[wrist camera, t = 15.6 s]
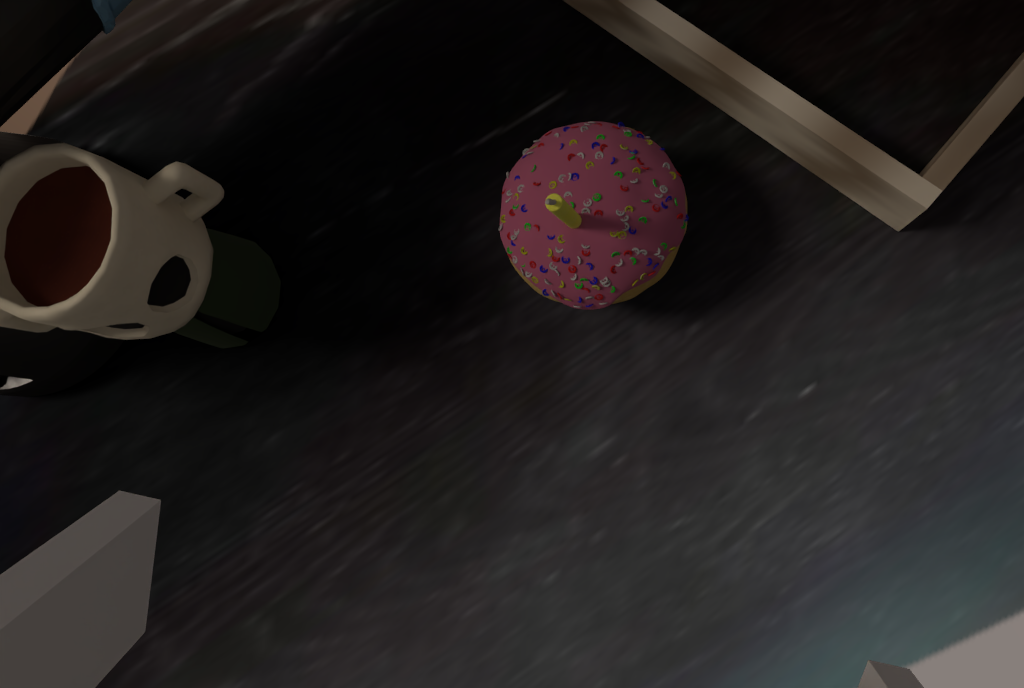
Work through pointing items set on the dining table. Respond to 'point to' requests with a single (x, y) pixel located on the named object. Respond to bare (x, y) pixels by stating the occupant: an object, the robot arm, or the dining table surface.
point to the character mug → (124, 252)
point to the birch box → (802, 111)
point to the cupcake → (593, 214)
